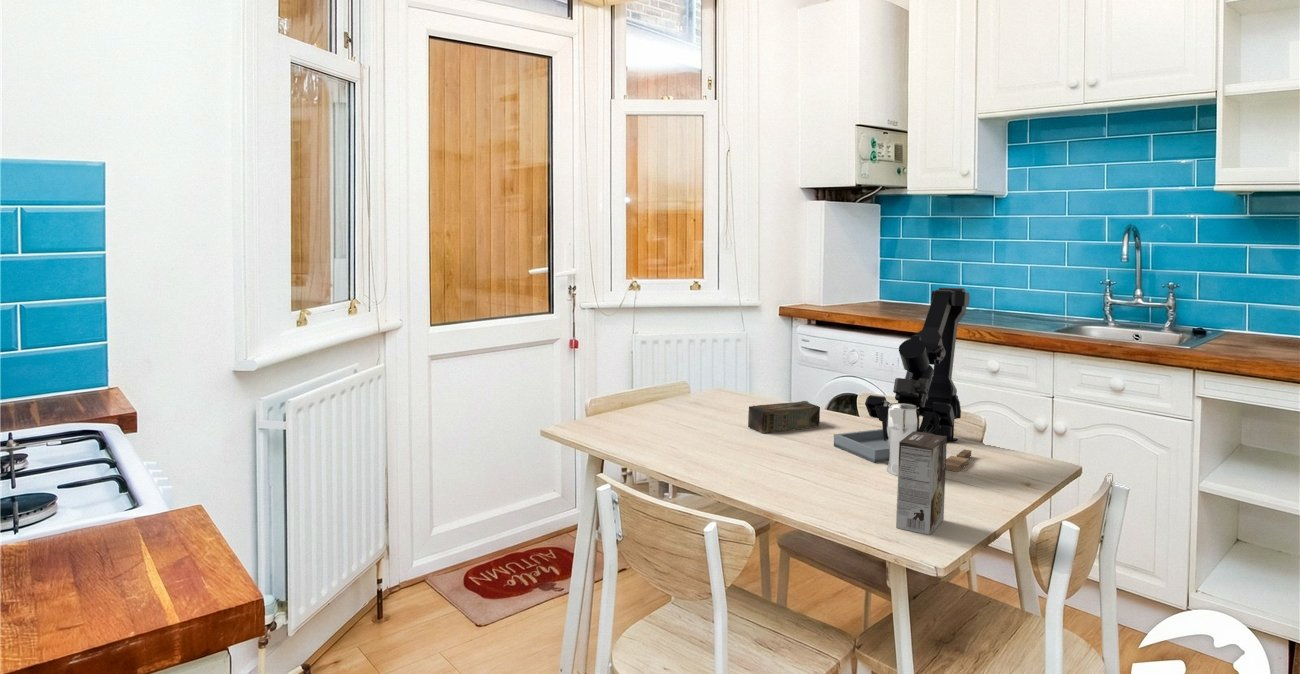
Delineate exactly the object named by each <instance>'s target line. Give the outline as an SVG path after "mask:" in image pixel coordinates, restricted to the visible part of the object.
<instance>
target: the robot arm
mask: <svg viewBox="0 0 1300 674" xmlns="http://www.w3.org/2000/svg"><path fill="white" fill-rule="evenodd" d="M930 293H931V295H930V296H931V297H930V305H929V308H928V310H927V314H926V317H925V321H924V323H923V326H922V329H921V330H920V331H918V332H916V333H915V334H913V335H911V336H910V338H909V339H906V340H904V341H903V342H902V343H901V344H899V346H898V352H899V356H900V359H901V363H902V366H903V369H904V371H906V374H905V377H904V378H903V377H895V379H894V385H893V390H892V391H893V393H894V394H895V395H894V398H895V401H897V403H908V404H914V405H917V406H919V417H922V420H921V423H920V424H919V431H918V432H923V433H930V434H935V435H940V436H947V443H949V442H956V441H957V440H958V441H959V438H957V437H955V436H954V432H955V420H958V419H961V418H962V409H961V407H962V406H961V402H960V399H959V396H958V393H957V392H958V390H957V387H956V385H955V383H954V381H953V379H952V376H953V368H954V359H955V358H954V357H955V353H956V351H955V350H956V341H957V333H958V332H957V331H958V325H959V322H960V321H961V320H962V319H963V317H965V315H966V313H967V307H969V306H970V299H971V298H970V297H971V296H970V293H969V292H966V289H965V288H962V287H939V288H938V289H935V290H931V292H930ZM932 365H933V366H932ZM892 403H893V402H889V401H887V398H886V396H883V395H882V396H881V395H874V394H870V395H868V396H867V397H866V398H865V402H864V405H865V407H866V410H867V413H868V415H869V416H870V417H871V418H874V419H878V420H879V422H881V424H882V429H883V438H884V441H886V440H887V431H886V422H887V412H888V405H889V404H892Z"/></svg>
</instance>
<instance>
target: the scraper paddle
mask: <svg viewBox="0 0 1300 674" xmlns="http://www.w3.org/2000/svg"><path fill="white" fill-rule="evenodd" d="M970 456H971V457H972V450H971V449H966V448H965V449H963V450H961V451H960V452H959V453H957V454H956V456H954V455H950V456H949V457H946V471H950V470H951V472H956V471H957V472H958V471H959V472H960V471H962V470H963V469H964V468H965V467H967V466H968V465H969V464H968V463H970V458H969V457H970ZM968 458H969V459H968ZM967 464H968V465H967ZM964 466H965V467H964ZM963 467H964V468H963ZM957 472H956V473H957ZM959 472H958V473H959Z"/></svg>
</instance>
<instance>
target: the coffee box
mask: <svg viewBox="0 0 1300 674" xmlns="http://www.w3.org/2000/svg"><path fill="white" fill-rule="evenodd" d="M947 444H948V442H947V436H940V435H935V434H930V433H923V432H912V433H911V434H909V435H908V436H907V437H905V438H904V439H903V440H901V441H900V442H899V465H898V475H897V492H896V493H897V495H896V496H897V497H896V519H895V521H896V522H895V528H896V529H900V530H904V531H910V532H915V533H919V534H923V535H929V536H930V535H932V534H933V533H934V531H935V530H936V529H937V528H938V527H939V526H940V525H941V523H942V522H943V520H944V518H945V515H944V513H945V493H946V473H947V472H946V471H947V470H946V459H947Z"/></svg>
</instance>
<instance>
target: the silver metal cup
mask: <svg viewBox="0 0 1300 674" xmlns="http://www.w3.org/2000/svg"><path fill="white" fill-rule="evenodd" d="M891 403H892V404H889V405H888V412H887V422H886V431H887V440H888V447H889V461H887V467H886V472H887V473H888V474H890V475H894V476H898V465H899V442H900V441H901V440H903V439H904V438H905V437H907V436H908V435H909V434H911V433H912V432H918V431H919V428H920V424H921V423H920V421H921V420H920V416H919V406H917V405H914V404H908V403H898V402H894V403H893V402H891Z"/></svg>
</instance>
